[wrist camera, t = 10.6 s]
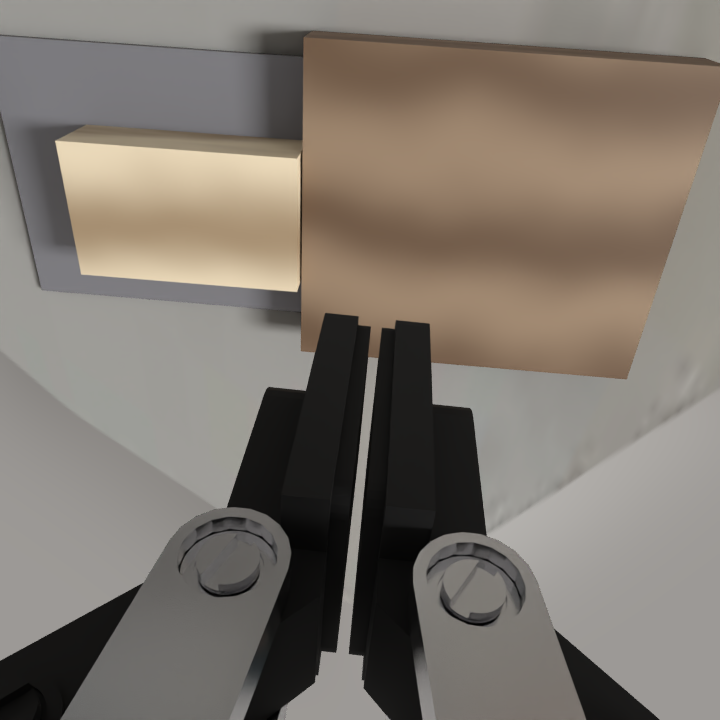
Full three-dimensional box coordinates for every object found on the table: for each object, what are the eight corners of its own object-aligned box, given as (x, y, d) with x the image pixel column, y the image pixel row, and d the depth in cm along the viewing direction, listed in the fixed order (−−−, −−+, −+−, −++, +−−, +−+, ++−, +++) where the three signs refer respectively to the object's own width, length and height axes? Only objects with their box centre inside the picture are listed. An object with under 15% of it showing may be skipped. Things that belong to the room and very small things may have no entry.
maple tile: (86, 124, 29) (55, 140, 26) (307, 140, 29) (297, 158, 26) (107, 249, 32) (81, 274, 30) (306, 265, 32) (296, 291, 29)
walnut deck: (312, 30, 26) (303, 37, 24) (705, 58, 26) (731, 67, 24) (307, 326, 34) (300, 351, 32) (613, 352, 33) (626, 379, 31)
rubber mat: (-14, 33, 27) (-18, 34, 27) (311, 57, 27) (311, 58, 27) (44, 287, 34) (41, 290, 34) (308, 310, 33) (307, 312, 33)
